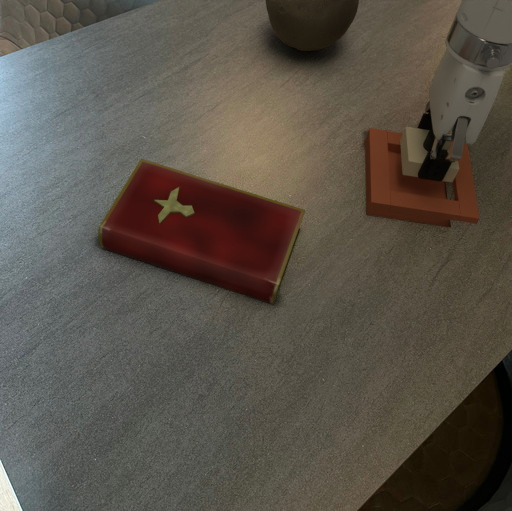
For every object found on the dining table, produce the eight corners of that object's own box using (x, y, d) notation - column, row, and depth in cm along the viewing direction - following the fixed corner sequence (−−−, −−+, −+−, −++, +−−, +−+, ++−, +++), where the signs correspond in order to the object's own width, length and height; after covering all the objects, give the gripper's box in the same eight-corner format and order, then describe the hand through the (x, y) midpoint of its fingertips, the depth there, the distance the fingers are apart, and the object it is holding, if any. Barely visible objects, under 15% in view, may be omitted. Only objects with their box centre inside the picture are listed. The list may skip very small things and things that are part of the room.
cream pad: (447, 147, 84) (460, 122, 80) (452, 182, 80) (465, 157, 76) (399, 140, 84) (410, 114, 80) (402, 175, 80) (413, 149, 76)
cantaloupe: (256, 18, 104) (268, -73, 92) (339, 24, 106) (361, -65, 94) (261, 71, 96) (275, -21, 84) (351, 77, 98) (377, -13, 86)
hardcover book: (272, 307, 71) (278, 286, 67) (100, 250, 72) (97, 227, 69) (299, 230, 78) (305, 208, 75) (141, 180, 80) (141, 156, 76)
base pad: (460, 155, 90) (467, 143, 88) (472, 230, 81) (479, 218, 79) (364, 140, 89) (369, 127, 87) (366, 214, 81) (371, 202, 79)
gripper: (532, 95, 62) (462, 212, 76) (506, 0, 73) (449, 119, 87) (458, 83, 62) (402, 203, 76) (442, -11, 72) (396, 110, 86)
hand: (427, 157), depth 81 cm, fingers closed on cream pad, 6 cm apart
